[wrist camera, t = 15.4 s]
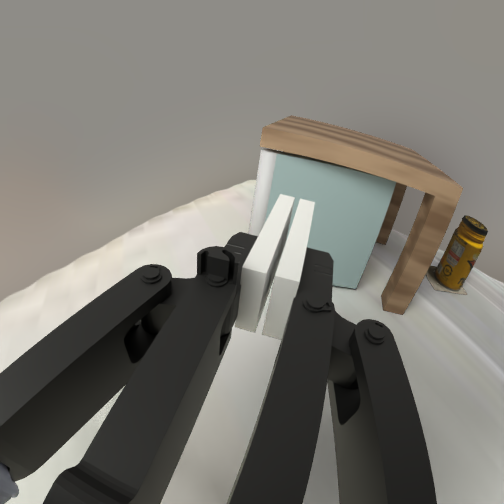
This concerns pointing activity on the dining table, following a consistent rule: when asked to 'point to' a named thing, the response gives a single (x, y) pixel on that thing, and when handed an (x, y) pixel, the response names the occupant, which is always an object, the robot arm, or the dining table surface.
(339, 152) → the step stool
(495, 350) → the dining table surface
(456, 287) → the condiment
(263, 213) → the pale teal panel
